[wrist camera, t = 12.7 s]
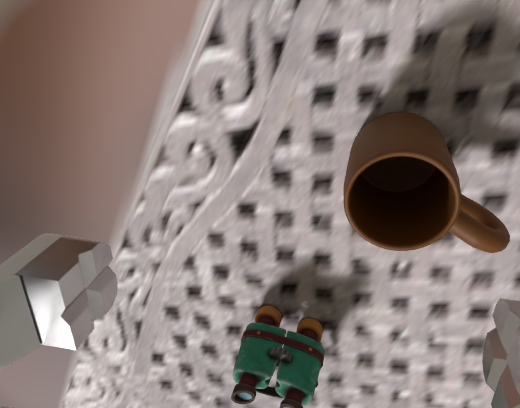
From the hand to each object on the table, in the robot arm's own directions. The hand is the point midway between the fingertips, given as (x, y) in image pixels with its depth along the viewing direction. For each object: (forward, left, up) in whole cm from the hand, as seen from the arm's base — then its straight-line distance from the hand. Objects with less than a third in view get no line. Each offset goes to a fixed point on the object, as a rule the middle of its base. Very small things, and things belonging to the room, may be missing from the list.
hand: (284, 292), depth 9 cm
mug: (-6, +8, -29) cm, 31 cm away
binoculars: (+5, +30, -29) cm, 42 cm away
